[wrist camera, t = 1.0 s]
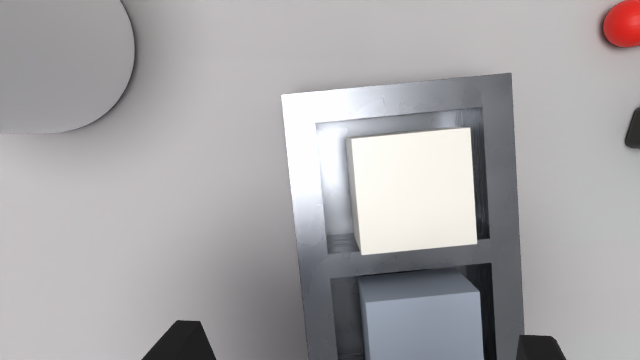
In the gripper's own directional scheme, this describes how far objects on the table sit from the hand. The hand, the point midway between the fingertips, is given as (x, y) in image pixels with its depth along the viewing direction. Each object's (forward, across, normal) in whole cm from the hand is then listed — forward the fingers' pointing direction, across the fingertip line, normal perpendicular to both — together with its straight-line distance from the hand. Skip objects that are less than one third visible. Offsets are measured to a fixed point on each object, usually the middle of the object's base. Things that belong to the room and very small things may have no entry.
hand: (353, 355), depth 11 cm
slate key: (+7, -1, +7) cm, 10 cm away
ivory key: (+10, -1, +2) cm, 10 cm away
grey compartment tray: (+10, 0, +9) cm, 13 cm away
